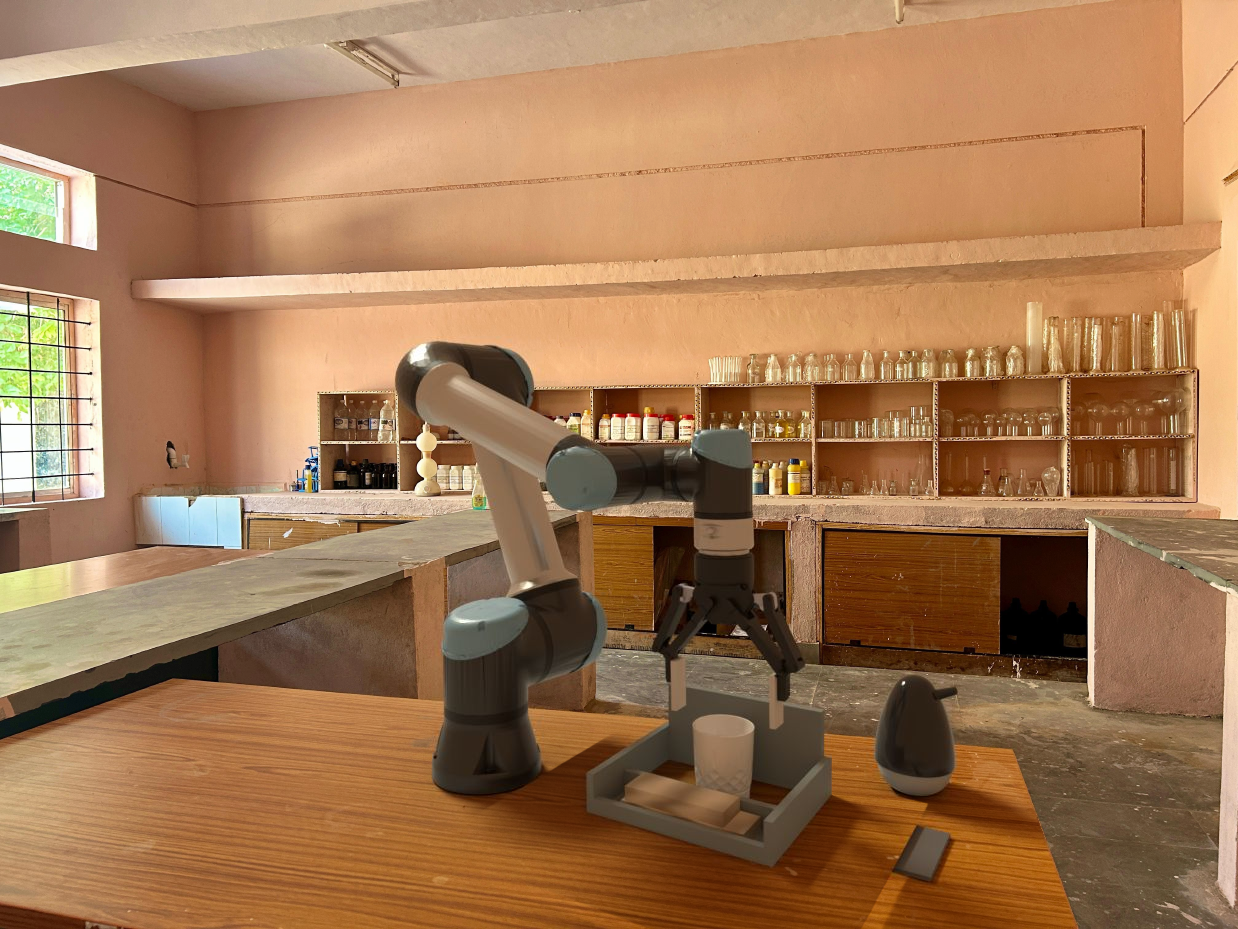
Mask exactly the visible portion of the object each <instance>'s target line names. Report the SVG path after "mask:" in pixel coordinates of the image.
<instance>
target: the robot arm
mask: <svg viewBox="0 0 1238 929" xmlns="http://www.w3.org/2000/svg"><path fill="white" fill-rule="evenodd" d="M394 388H395V391H396V395H397V396H398V399H399V401H400V402H401V403H402V405H403V406H404V408H405V409H407V410H408V412H410V413H411V415H414V416H415V417H417V418H418V419H420V420H422V421H423V422H425V423H427V424H429V425H432V426H435V427H436V426H437V427H441V426H447V427H448V428H450V429H451V430H453V431H455V432H457V433H458V436H460V437H461V438H463V439H464V440H467V441H469V442H470V443H471V448H472V450H473V453H474V458H475V460H476V465H477V468H478V472H479V475H480V478H481V482H482V486H483V488H484V492H485V496H486V500H487V504H488V506H489V510H490V514H491V518H492V521H493V525H494V529H495V532H496V535H497V538H498V541H499V542H498V543H499V546H500V550H501V553H502V557H503V560H504V564H505V568H506V571H507V573H508V579H509V581H510V588H509V590H508V591H507V594H506V596H503V597H491V598H490V599H484V598H482V599H479V600H474V601H470V602H468V603H464V604H462V605H460V606H458V607H456V608H454V609H453V610H452V611H451V612H449V613H448V614H447V616H446V617H445V619H444V622H443V629H442V630H443V632H442V633H443V634H442V640H441V644H440V646H441V652H442V663H443V664H442V668H443V669H442V670H443V672H442V673H443V675H442V676H443V680H442V681H443V722H442V725H441V728H440V730H439V731H440V732H439V735H438V738H437V743H436V747H435V751H434V752H433V755H432V758H431V779H432V781H433V782H434V784H436V785H437V786H438V787H440V788H442V789H444V790H446V791H449V792H451V793H452V792H453V793H458V794H464V795H465V794H466V795H489V794H491V795H492V794H498V793H504V792H509V791H512V790H515V789H518V788H521V787H524V786H526V785H528V784H529V783H531V782H532V781H534V780H536V779H537V777H538V776H539V775H540V774H541V770H542V752H541V749H540V746H539V744H538V743H537V740H536V736H535V732H534V729H533V726H532V723H531V719H530V716H529V687H530V686H534V685H537V684H540V683H542V682H546V681H549V680H553V679H554V678H555V679H556V678H558V677H561V676H564V675H570V674H572V673H576V672H578V671H580V670H581V669H582V668H584V667H587V666H589V665H591V664H592V663H594V662H595V661H596V660H597V659H598V657H600V655H601V653H602V650H603V647H604V646H605V644H606V641H607V635H608V623H607V622H608V620H607V616H606V612H605V610H604V608H603V606H602V604H601V602H600V600H598V598H595V597H594V595H593V594H592V593H590V592H588V591H584V590H582V587H581V583H580V581H579V577H578V576H577V575H576V574H574V573H572V572H570V571H568V570H567V569H566V568H565V565H564V562H563V557H562V555H561V551H560V548H559V545H558V541H557V539H556V538H557V537H556V535H555V530H554V527H553V524H552V521H551V517H550V514H549V511H548V507H547V505H546V504H547V503H546V500H545V497H544V495H543V491H542V488H541V485H540V481H542V482H543V483H545V486H546V489H547V493H548V494H549V495H550V496H551V498H552V499H553V503H555V505H557V506H558V507H560V508H561V509H564V510H566V511H582V512H591V511H597V510H600V509H606V508H613V507H622V506H631V505H641V504H649V503H655V502H656V503H657V502H673V503H674V502H675V503H678V502H679V503H692V507H693V542H694V544H693V546H694V548H696V549H697V550H698V551H696V552H695V553H694V555H693V559H694V561H693V563H694V564H693V565H694V567H693V568H694V570H693V571H694V580H695V581H694V582H695V586H694V587H693V586H690V585H689V584H688V583H686V582H683V583H680V584H678V585H677V584H676V585H675V586H673V588H672V590H671V593H672V594H671V602H670V604H669V606H668V609H667V612H666V613H665V616H664V618H663V620H662V622H661V624H660V626H659V628H658V631H657V633H656V636H655V638H654V640H653V643H652V645H651V647H650V649H651V651H652V652H653V653H654V654H659V655H661V656H663V657H664V665H665V667H664V669H665V670H664V672H665V680H666V683H668V684H669V683H671V710H674V711H677V710H679V709H681V708H682V707H684V706H685V705H686V684H687V682H686V681H687V680H686V678H687V675H686V656H683V655H681V654H682V651H683V650H684V649H685V648H686V646H687V645H688V644H689V642H690V641H691V640H692V639H693V638H694V637H695V635H696V634H697V633H698V632H699V631H700V630H701V628H702V627H703V626H704V625H705V624H706V623H707V622H709V623H710V625H719V624H722V625H725V626H728V627H734V626H738V627H739V628H740V630H741V631H742V632H744V633H745V635H747V637H748V638H749V639H750V641H751V642H752V643H753V645H754V646H755V647H756V648H757V650H758V651H759V653H760V654H761V655H762V657H763V659H764V660H765V661H766V663H767V664H768V665H769V667H770V668H771V669H772V670H773V672H772V673H771V674H770V675H769V676H768V696H769V698H768V699H769V719H770V729H777V728H778V727H779V726H780V725H781V724H783V702H787V700H789V699H790V697H791V675H792V674H796V673H798V672H799V671H801V670H802V669H804V668H805V667H806V661H805V659H804V657H803V655H802V653H801V650H800V648H799V646H798V644H797V641H796V639H795V636H794V635H793V633H792V631H791V628H790V626H789V624H788V622H787V620H786V618H785V616H784V614H783V612H782V609H781V601H780V594H779V593H778V591H776V590H772V591H770V592H767V593H757V592H756V590H755V585H754V583H755V555H754V554H753V552H752V551H750V550H752V548H754V546H755V538H754V536H755V534H754V533H755V532H754V509H753V507H754V506H753V497H754V495H753V493H754V492H753V488H754V487H753V484H754V483H753V480H754V478H753V477H754V474H753V473H754V467H755V463H754V460H753V444H752V436H751V434H750V433H749V431H747V430H746V429H743V428H730V429H729V428H724V429H723V428H722V429H714V428H713V429H697V430H695V431H694V432H693V433H692V438H691V440H692V441H691V444H685V445H682V444H679V445H677V444H676V445H675V444H674V445H673V444H672V445H671V444H670V445H669V444H649V443H646V444H637V445H630V446H629V445H627V446H625V445H622V446H621V445H620V446H617V445H616V446H605V445H601V444H599V443H597V442H594V441H593V440H591V439H588V438H587V437H585V436H582V435H581V434H579V433H577V432H575V431H574V430H572V429H570V428H568V427H566V426H564V425H562V424H560V423H558V422H556V421H554V420H552V419H550V418H548V417H546V416H544V415H542V414H541V413H539V412H537V411H534V410H532V409H530V407H531V405H532V402H533V398H534V397H533V395H532V393H534V392H535V381H534V377H533V374H532V370H531V369H530V366H529V365H528V363H527V361H526V360H525V359H524V358H523V357H522V356H521V355H520V354H519V353H517V352H516V351H513V350H512V349H509V348H504V347H500V346H498V345H495V344H484V345H478V344H471V343H470V344H469V343H461V342H448V341H443V340H442V341H440V340H436V341H435V340H433V341H427V342H423V343H420V344H419V345H416V346H414V347H412V348H411V349H410V350H409V351H407V352H406V353H405V354H404V355H403V357H402V358H401V359H400V362H399V363H398V365H397V368H396V370H395V376H394ZM539 480H540V481H539ZM692 599H693V601H694V602H695V603H696V605H697V607H698V608H697V609H696V611H695V612H694V613H693V615H692V616H691V618H690V620H689V621H687V623H686V625H685V626H684V627H683V628H682V629H681V630H680V632H679V633H678V635H676V637H675V638H674V639H673V636H674V634H675V633H676V632H675V631H676V629H677V628H678V625H679V623H680V620H681V618H682V616H683V614H684V611H685V610H686V608H687V605H688V602H690V601H691V600H692ZM756 604H757V605H758V606H759V609H760V610H761V611H762V612H763V613H764V616H765V620H766V622H767V624H768V626H769V628H770V630H771V632H772V634H773V636H774V638H775V641H776V643H777V644H776V643H775V641H774V640H773V639H772V638H771V636H770V634H769V633H768V632H767V631H766V629H765V628H764V626H763V625H762V624H761V622H760V618H759V617H758V615H757V614H756V613H755V612H754V609H753V608H754V607H755V606H756ZM672 639H673V640H672ZM671 640H672V642H671ZM670 642H671V643H670ZM679 655H680V656H679Z"/></svg>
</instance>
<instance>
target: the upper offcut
mask: <svg viewBox="0 0 1238 929" xmlns="http://www.w3.org/2000/svg"><path fill="white" fill-rule="evenodd" d="M653 774H654V773H652V774H649V773H646V772H644V773H642V774H641V775H640V776H638V777H637V778H635V779H634V780H633V781H631V782H630V783H628V784H627V785H625V801H629V802H632V803H636V804H639V805H643V806H646V807H650V808H653V809H657V810H661V811H664V812H668V813H671V814H675V815H678V816H682V817H685V818H689V819H692V820H696V821H699V822H703V823H707V824H710V825H714V826H717V827H721V828H724V827H725V826H726V825H727V824H728V823H729V822H730V821H731V820H732V819H733V818H734V817H735V816H736V815H737V814H738V813H739V812H740V797H739V796H735V795H731V794H727V793H723V792H719V791H716V790H712V789H708V788H704V787H700V786H696V784H695V785H692V784H693V783H691V784H688V783H689V782H687V783H684V782H685V781H683V782H681V781H682V780H679V781H677V780H678V779H675V780H673V779H674V778H671V779H669V778H670V777H667V778H665V777H666V776H663V777H661V776H662V775H660V776H657V775H658V774H656V775H653Z"/></svg>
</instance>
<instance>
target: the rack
mask: <svg viewBox="0 0 1238 929" xmlns="http://www.w3.org/2000/svg"><path fill="white" fill-rule="evenodd" d="M667 691H668V721H665V722H664V723H662V724H660V725H659V726H657V727H656V728H654V729H652V730H651V731H649V732H648V733H646V734H645V735H643V736H642V737H640V738H638V739H637V740H636V741H634V742H633V743H631V744H629V745H628V746H626V747H624V748H623V749H621V750H619V751H618V752H617V753H615V754H614V755H612V756H610V757H609V758H607V759H606V760H604V761H603V762H601V763H599V764H598V765H596V766H595V767H593V768H592V769H590V770H589V771H587V772H586V779H585V780H586V812H587V813H590V814H593V815H597V816H600V817H604V818H607V819H610V820H614V821H617V822H620V823H622V824H626V825H630V826H634V827H637V828H640V829H643V830H646V831H649V832H653V833H657V834H660V835H663V836H666V837H670V838H673V839H676V840H680V841H682V842H686V843H690V844H694V845H697V846H700V847H703V848H707V849H710V850H713V851H717V852H719V853H722V854H727V855H730V856H734V857H736V858H740V859H743V860H747V861H749V862H753V863H756V864H760V865H764V866H767V867H770V868H773V867H774V866H775V865H776V864H777V862H779V860H780V859H781V858H782V856H783V855H784V854H785V853H786V851H788V848H790V846H791V845H792V844H793V843H794V842H795V840H796V839H797V837H798V836H800V834H801V833H802V831H803V830H804V829H805V828H806V827H807V826H808V824H809V823H810V822H811V821H812V819H814V817H815V816H816V814H818V812H819V811H820V809H821V808H822V807H823V806H824V804H825V803H826V802H827V801H828V799H829V798H830V797H831V796H832V788H833V787H832V783H833V780H832V779H833V777H832V775H833V774H832V773H833V772H832V771H833V770H832V768H833V766H832V764H833V763H832V762H833V761H832V760H833V759H832V758H833V757H831V756H827V755H825V709H823V708H817V707H813V706H808V705H803V704H796V703H791V702H787V701H785V702H783V724H781V725H780V726H779V727H778V728H777V729H770V719H769V698H764V697H759V696H758V697H757V696H753V695H749V694H748V695H747V694H742V693H739V692H738V693H737V692H731V691H726V690H720V689H715V688H709V687H704V686H699V685H694V684H688V683H686V705H685V706H684V707H682V708H681V709H679V710H677V711H674V710H671V683H668V690H667ZM708 715H733V716H738V717H742V718H744V719H747V720H749V721H750V722H752V723H753V724H754V727H755V729H754V749H753V764H752V781H756V782H761V783H763V784H768V785H773V786H777V787H781V788H785V789H789V790H791V791H790V792H788V794H787V795H786V796H784V798H783V799H782V800H781V801H780V802H779V803H778V804H772V803H768V802H764V801H760V800H756V799H752V798H750V797H749V798H745V797H741V796H739V797H740V811H743V812H747V813H750V814H754V815H758V816H761V832H760V833H759V834H758V835H757V836H756V837H755V838H754V839H753V840H752V839H748V838H745V837H741V836H738V835H734V834H731V833H727V832H724V831H720V830H717V829H713V828H710V827H706V826H703V825H699V824H696V823H692V822H689V821H685V820H682V819H678V818H675V817H671V816H668V815H664V814H661V813H657V812H654V811H650V810H647V809H643V808H639V807H636V806H632V805H629V804H625V803H622V802H621V799H623V798H624V797H625V785H627V784H628V783H630V782H631V781H633V780H634V779H635V778H637V777H638V776H640V775H641V774H642V773H644V772H646V773H649V774H653V775H657V776H661V777H665V778H669V779H673V780H677V781H681V782H684V783H688V784H692V785H696V783H695V784H694V783H690V782H687V781H682V780H678V779H674V778H671V777H667V776H663V775H659V774H655V773H653V772H654V770H656V769H658V768H659V767H660V766H661V765H663V764H664V763H665V762H668V761H674V762H677V763H682V764H685V765H690V766H694V747H693V726H692V724H693V722H694V721H695V720H696V719H698V718H700V717H703V716H708ZM696 786H699V785H696ZM700 787H702V786H700ZM704 788H706V787H704ZM708 789H710V788H708ZM712 790H714V789H712ZM716 791H718V790H716ZM719 792H722V791H719ZM723 793H726V792H723ZM727 794H730V793H727ZM731 795H734V794H731ZM735 796H738V795H735Z"/></svg>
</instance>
